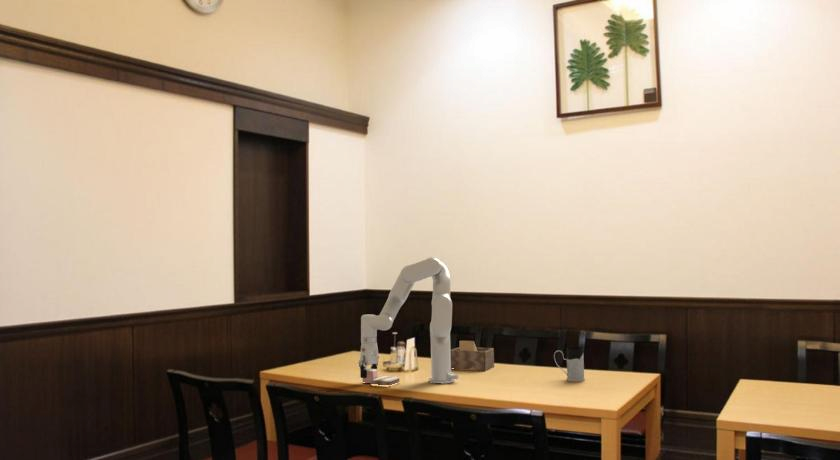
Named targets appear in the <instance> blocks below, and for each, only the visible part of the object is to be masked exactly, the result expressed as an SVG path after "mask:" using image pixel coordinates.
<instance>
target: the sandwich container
mask: <svg viewBox="0 0 840 460" xmlns="http://www.w3.org/2000/svg"><path fill="white" fill-rule="evenodd" d="M458 343H459V348H460V351H478V350H477V348H478V347H477V346H476V344H475V341H474V340H459V342H458ZM472 370H474V367H472V368H469V369H467V370H466V371H472Z"/></svg>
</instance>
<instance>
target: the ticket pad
mask: <svg viewBox="0 0 840 460" xmlns="http://www.w3.org/2000/svg"><path fill="white" fill-rule="evenodd" d="M400 381H401V380H400V378H399V376H398V377H397V376H387V375H385V376H384V375H382V376H380V375H379V376H378V378H376V379H373V380H372V381H371V384H378V385H392V384H395V383H398V382H400ZM371 384H370V385H371Z"/></svg>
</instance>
